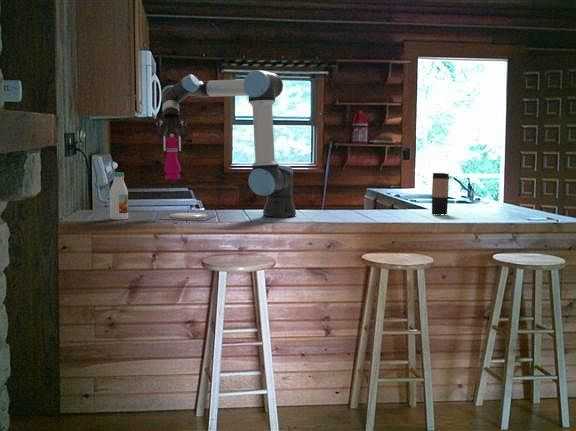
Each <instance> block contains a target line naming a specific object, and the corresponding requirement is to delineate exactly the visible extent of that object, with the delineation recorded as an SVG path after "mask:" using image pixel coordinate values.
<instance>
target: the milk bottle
mask: <svg viewBox="0 0 576 431" xmlns="http://www.w3.org/2000/svg"><path fill="white" fill-rule="evenodd" d="M112 178H113V181H112V184H111V187H110V189H109V219H110V220H116V221H117V220H118V221H119V220H120V221H122V220H128V219H129V192H128V188H127V185H126V183H125V180H124V178H125V173H124V172H113V173H112Z"/></svg>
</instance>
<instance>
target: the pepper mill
mask: <svg viewBox="0 0 576 431" xmlns="http://www.w3.org/2000/svg"><path fill="white" fill-rule="evenodd" d="M165 147H166V152H167V153H166V154H167V158H166V162H165V164H164V166H163V167H164V168H163V170H164V171H163V172H165V173H166V174H165V179H166V180H180V179H181V175H180V172H181V171H182V168H181V167H182V166H181V164H180V162H179V160H178V151H179V138H176V137H175V135H174V133H169V137H167V138H165Z"/></svg>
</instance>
